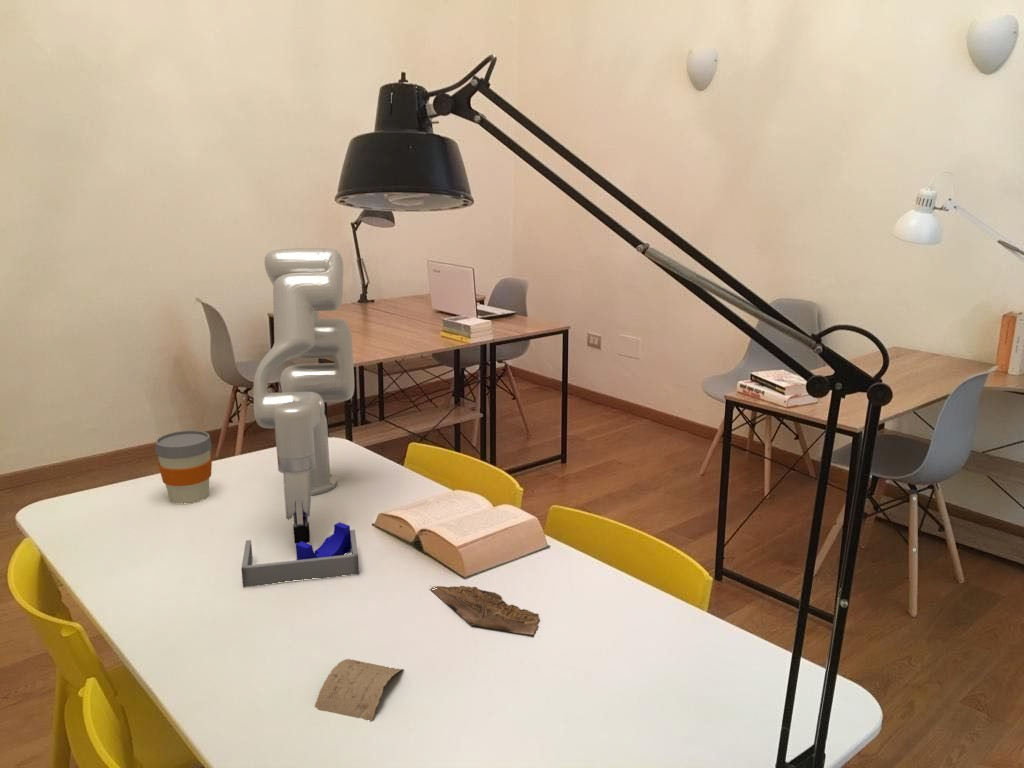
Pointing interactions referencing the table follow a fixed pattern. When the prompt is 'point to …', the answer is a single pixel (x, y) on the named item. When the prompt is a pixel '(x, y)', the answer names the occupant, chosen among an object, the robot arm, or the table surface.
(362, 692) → the brown curved piece
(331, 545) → the blue curved cradle
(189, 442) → the reusable coffee cup
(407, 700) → the table surface
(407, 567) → the table surface
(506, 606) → the wooden fragment
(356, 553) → the u-shaped bracket
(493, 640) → the table surface
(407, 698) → the table surface
